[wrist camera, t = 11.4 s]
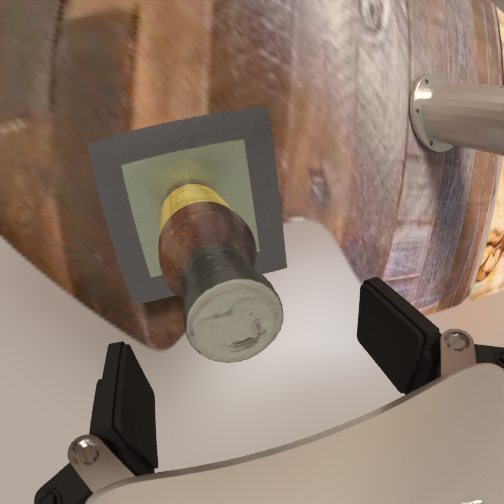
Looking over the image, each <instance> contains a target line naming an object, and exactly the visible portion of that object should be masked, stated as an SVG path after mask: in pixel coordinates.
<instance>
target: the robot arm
mask: <svg viewBox="0 0 504 504" xmlns="http://www.w3.org/2000/svg"><path fill="white" fill-rule="evenodd" d="M410 116H411V122H412V125H413V128H414V131H415V133H416V135H417V137H418V138H419V140H420V142H421V143H422V144H423V145H424V146H425V147H427V148H428V149H429V150H432V151H435V152H446V151H448V150H450V149H451V148H452V147H453V146H454V145H456V146H461V147H466V148H471V149H476V150H480V151H484V152H489V153H493V154H497V155H501V156H504V86H503V85H487V84H450V83H449V82H448V81H447V80H446V79H445V78H443V77H442V76H439V75H436V74H429V75H424V76H422V77H420V78H419V79H418V80H417V81H416V83H415V84H414V86H413V89H412V92H411V96H410ZM357 338H358V341H359V342H360V344H361V345H362V346H363V347H364V349H365V350H366V351H367V352H368V353H369V355H370V356H371V357H372V358H373V360H374V361H375V362H376V363H377V365H378V366H379V367H380V368H381V369H382V371H383V372H384V373H385V374H386V376H387V377H388V378H389V380H390V381H391V382H392V383H393V385H394V386H395V387H396V388H397V390H398V391H399V392H400V393H404V394H405V396H403V397H401V398H399V399H397V400H395V401H393V402H391V403H389V404H387V405H385V406H383V407H381V408H379V409H376V410H374V411H372V412H370V413H368V414H365V415H363V416H361V417H359V418H356V419H354V420H352V421H349V422H347V423H344V424H342V425H340V426H337V427H334V428H332V429H329V430H327V431H324V432H321V433H319V434H316V435H313V436H310V437H307V438H305V439H301V440H298V441H295V442H292V443H289V444H286V445H283V446H279V447H276V448H273V449H269V450H266V451H262V452H258V453H255V454H251V455H247V456H243V457H239V458H235V459H230V460H226V461H221V462H217V463H211V464H206V465H201V466H195V467H190V468H185V469H178V470H171V471H164V472H158V473H155V472H154V469H155V468H158V456H157V444H156V443H157V441H156V423H155V422H156V421H155V396H154V392H153V390H152V388H151V386H150V384H149V382H148V380H147V378H146V376H145V375H144V373H143V371H142V369H141V367H140V365H139V363H138V361H137V359H136V357H135V355H134V353H133V351H132V349H131V347H130V345H129V344H127V345H125V343H124V342H117V343H111V344H109V345H108V350H107V355H106V360H105V366H104V371H103V377H102V379H99V380H98V382H97V386H96V391H95V398H94V404H93V410H92V418H91V426H90V433H89V435H83V436H80V437H78V438H76V439H75V440H74V441H73V442H72V443H71V445H70V447H69V449H68V459H69V461H70V463H69V464H68V465H66V466H65V467H64V468H63V469H62V470H61V471H59V472H58V473H57V474H56V475H55V476H54V477H53V478H51V480H49V481H48V482H47V483H46V484H44V485H43V486H42V487H41V488H40V489H39V490H38V491H37V493H36V495H35V498H34V504H504V348H503V347H494V346H485V345H477V344H474V342H473V339H472V337H471V336H470V335H469V334H468V333H467V332H465V331H462V330H460V329H449V330H447V331H445V332H444V333H443V334H441V333H440V332H439V328H438V327H436V326H435V325H434V324H433V323H432V322H431V321H430V320H428V319H427V318H426V317H425V316H424V315H423V314H422V313H420V312H419V311H418V310H417V309H416V308H415V307H413V306H412V305H411V304H410V303H409V302H408V301H406V300H405V299H404V298H403V297H402V296H400V295H399V294H398V293H397V292H396V291H394V290H393V289H392V288H391V287H390V286H388V285H387V284H386V283H385V282H384V281H382V280H381V279H380V278H378V277H374V278H371V279H368V280H365V281H364V282H363V285H361V287H360V302H359V316H358V327H357Z"/></svg>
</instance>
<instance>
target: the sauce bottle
mask: <svg viewBox="0 0 504 504" xmlns="http://www.w3.org/2000/svg"><path fill="white" fill-rule="evenodd" d="M158 253H159V263H160V268H161V273H162V276H163V278H164V280H165V282H166V284H167V285H168V286H169V288H170V289H171V290H172V291H173V292H174V293H175V294H177V295H178V297H180V298H181V299H182V300H184V302H183V319H184V327H185V332H186V336H187V338H188V340H189V342H190V344H191V345H192V346H193V348H194V349H195V350H197V351H198V352H199V353H200V354H202V355H203V356H205V357H206V358H208V359H211V360H214V361H219V362H227V363H230V362H238V361H242V360H247V359H249V358H251V357H253V356H255V355H256V354H258V353H260V352H261V351H262V350H264V349H265V348H266V347H267V346H268V345H269V344H270V343H271V342H272V341H273V340H274V339H275V338H276V336H277V334H278V333H279V331H280V330H281V326H282V323H283V308H282V304H281V301H280V298H279V296H278V294H277V293H276V291H275V290H274V288H273V286H272V285H271V283H270V282H269V281H268V280H267V279H266V278H265V277H264V276H263V275H262V274H260V273H259V272H256V270H255V268H254V267H255V262H256V255H257V248H256V242H255V239H254V236H253V233H252V231H251V229H250V228H249V226H248V225H247V223H246V222H245V221H244V220H243V218H242V217H241V216H239V214H238V213H236V212H235V211H234V210H233V209H232V208H231V207H230V206H229V205H228V204H227V203H226V202H225V201H224V200H223V199H222V198H221V197H220V196H219V195H218V194H217V193H216V192H215V191H214V190H212V189H210V188H209V187H206V186H203V185H199V184H187V185H184V186H182V187H179V188H177V189H175V190H173V191H172V192H171V194H170V195H169V196H168V197H167V198H166V200H165V201H164V203H163V205H162V208H161V215H160V221H159V238H158Z"/></svg>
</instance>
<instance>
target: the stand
mask: <svg viewBox="0 0 504 504" xmlns="http://www.w3.org/2000/svg"><path fill="white" fill-rule="evenodd" d="M87 145H88V150H89V155H90V160H91V165H92V169H93V174H94V178H95V182H96V186H97V190H98V194H99V198H100V202H101V206H102V210H103V213H104V217H105V220H106V224H107V227H108V231H109V234H110V238H111V241H112V244H113V247H114V250H115V254H116V257H117V260H118V263H119V266H120V269H121V272H122V275H123V277H124V280H125V283H126V286H127V289H128V291H129V294H130V297H131V299H132V302H133V305H137V304H141V303H146V302H150V301H154V300H159V299H163V298H167V297H171V296H176V295H177V294H175V293H174V292H173V291H172V290H171V289H170V288H169V286H168V285H167V284H166V282H165V280H164V278H163V276H162V273H161V268H160V263H159V253H158V238H159V221H160V215H161V208H162V205H163V203H164V201H165V200H166V198H167V197H168V196H169V195H170V194H171V192H172V191H173V190H175V189H177V188H179V187H182V186H184V185H187V184H199V185H203V186H206V187H209V188H210V189H212V190H214V191H215V192H216V193H217V194H218V195H219V196H220V197H221V198H222V199H223V200H224V201H225V202H226V203H227V204H228V205H229V206H230V207H231V208H232V209H233V210H234V211H235V212H236V213H238V214H239V216H241V217H242V218H243V220H244V221H245V222H246V223H247V225H248V226H249V228H250V229H251V231H252V233H253V236H254V239H255V242H256V248H257V255H256V262H255V267H254V268H255V270H256V272H259V273H260V274H264V273H269V272H273V271H276V270H280V269H284V268H287V264H286V254H285V244H284V234H283V224H282V215H281V206H280V197H279V188H278V180H277V171H276V163H275V155H274V147H273V139H272V132H271V124H270V117H269V109H268V107H260V108H252V109H243V110H236V111H229V112H222V113H216V114H210V115H204V116H198V117H193V118H187V119H182V120H177V121H172V122H168V123H163V124H159V125H154V126H150V127H146V128H142V129H138V130H134V131H130V132H126V133H122V134H119V135H115V136H112V137H108V138H105V139H101V140H98V141H95V142H92V143H88V144H87Z"/></svg>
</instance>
